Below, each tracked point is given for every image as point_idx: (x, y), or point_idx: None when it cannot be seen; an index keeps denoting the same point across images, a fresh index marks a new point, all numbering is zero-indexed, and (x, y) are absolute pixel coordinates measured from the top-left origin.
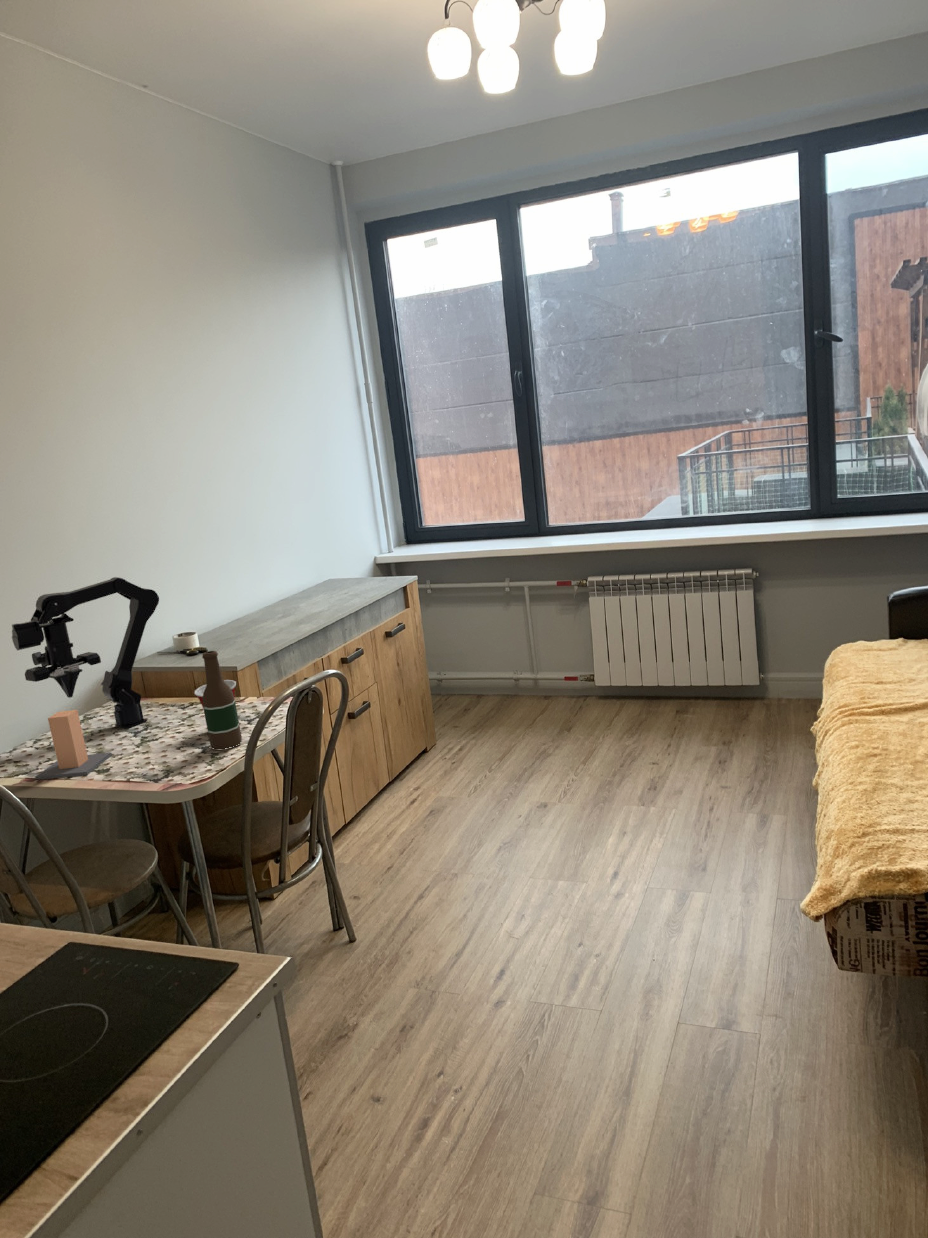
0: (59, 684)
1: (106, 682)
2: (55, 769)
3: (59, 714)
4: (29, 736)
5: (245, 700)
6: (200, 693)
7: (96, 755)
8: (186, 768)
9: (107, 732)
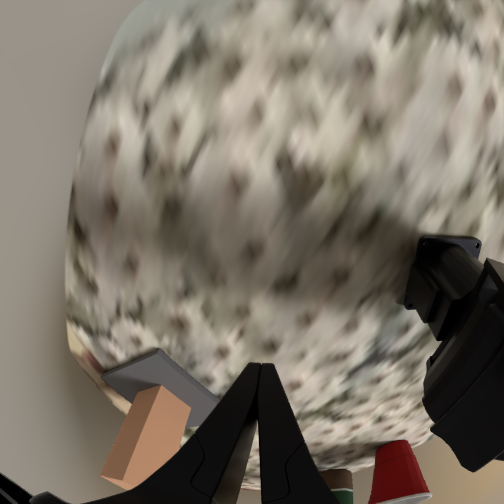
0: (177, 455)
1: (487, 398)
2: (132, 387)
3: (123, 485)
4: None
5: None
6: (395, 494)
7: (211, 407)
8: (257, 478)
9: (364, 269)
